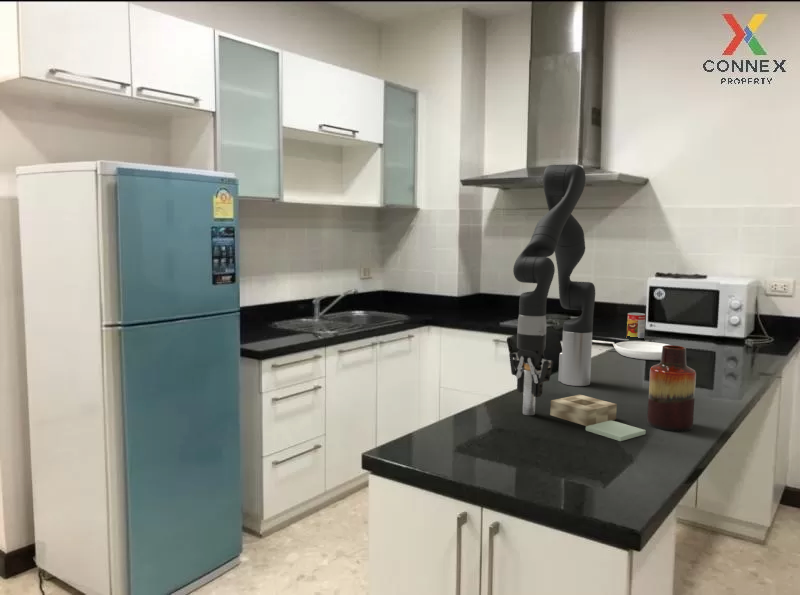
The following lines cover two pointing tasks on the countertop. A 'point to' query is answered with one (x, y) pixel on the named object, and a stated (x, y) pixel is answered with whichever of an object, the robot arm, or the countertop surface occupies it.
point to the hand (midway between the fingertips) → (529, 394)
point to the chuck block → (583, 410)
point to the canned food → (636, 325)
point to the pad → (615, 430)
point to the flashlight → (528, 392)
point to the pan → (638, 349)
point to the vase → (671, 391)
